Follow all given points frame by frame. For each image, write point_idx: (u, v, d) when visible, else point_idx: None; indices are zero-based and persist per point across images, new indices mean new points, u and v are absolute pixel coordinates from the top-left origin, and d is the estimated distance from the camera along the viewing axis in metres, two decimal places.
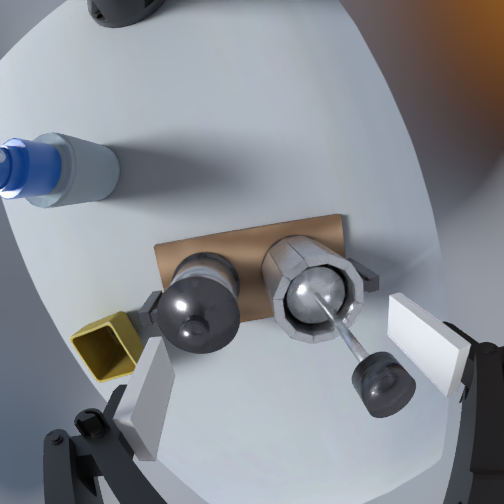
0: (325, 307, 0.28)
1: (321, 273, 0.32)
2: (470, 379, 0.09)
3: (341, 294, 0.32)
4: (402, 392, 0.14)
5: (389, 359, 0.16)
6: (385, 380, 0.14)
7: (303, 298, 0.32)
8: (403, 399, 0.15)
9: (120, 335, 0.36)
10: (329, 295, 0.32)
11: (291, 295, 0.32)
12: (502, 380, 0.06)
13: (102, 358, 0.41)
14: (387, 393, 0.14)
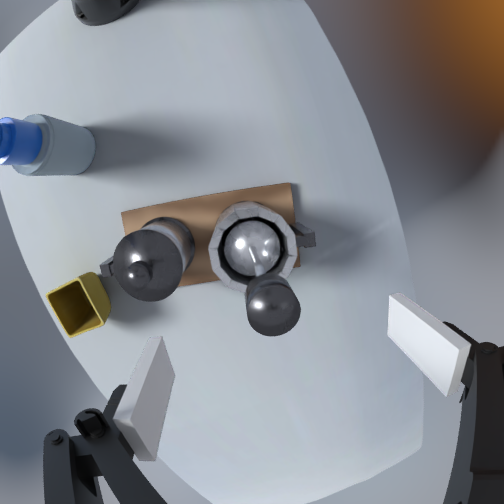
0: (252, 254, 0.32)
1: (255, 226, 0.35)
2: (470, 379, 0.09)
3: (277, 248, 0.36)
4: (284, 308, 0.18)
5: (275, 278, 0.20)
6: (260, 290, 0.18)
7: (239, 250, 0.36)
8: (288, 318, 0.18)
9: (87, 290, 0.40)
10: (264, 248, 0.36)
11: (228, 247, 0.35)
12: (502, 380, 0.06)
13: (75, 316, 0.44)
14: (265, 305, 0.18)
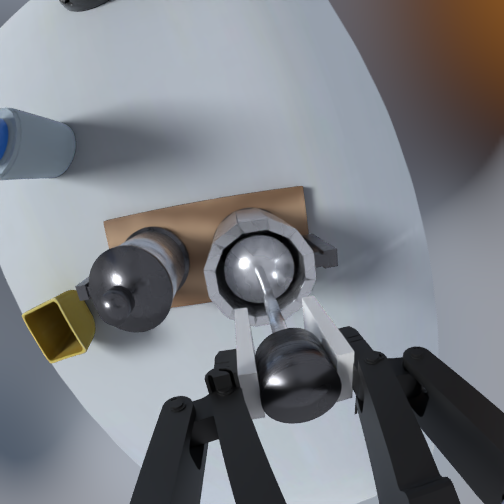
0: (261, 280, 0.24)
1: (263, 242, 0.28)
2: (360, 391, 0.10)
3: (290, 269, 0.29)
4: (319, 389, 0.11)
5: (302, 338, 0.12)
6: (282, 366, 0.11)
7: (243, 272, 0.28)
8: (323, 400, 0.11)
9: (66, 312, 0.33)
10: (274, 269, 0.28)
11: (229, 268, 0.28)
12: (400, 387, 0.08)
13: (56, 339, 0.37)
14: (290, 387, 0.11)
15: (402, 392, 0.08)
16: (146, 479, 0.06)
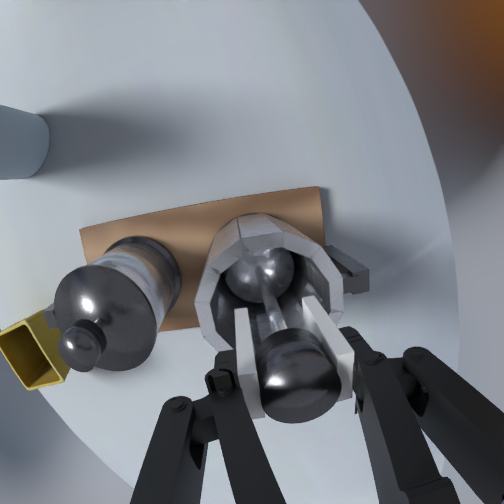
0: (261, 280, 0.24)
1: None
2: (360, 391, 0.10)
3: (290, 268, 0.29)
4: (318, 389, 0.11)
5: (302, 339, 0.12)
6: (282, 366, 0.11)
7: (243, 272, 0.28)
8: (323, 401, 0.11)
9: (38, 337, 0.25)
10: (274, 269, 0.28)
11: (229, 268, 0.28)
12: (400, 388, 0.08)
13: (34, 362, 0.30)
14: (289, 387, 0.11)
15: (402, 392, 0.08)
16: (146, 479, 0.06)
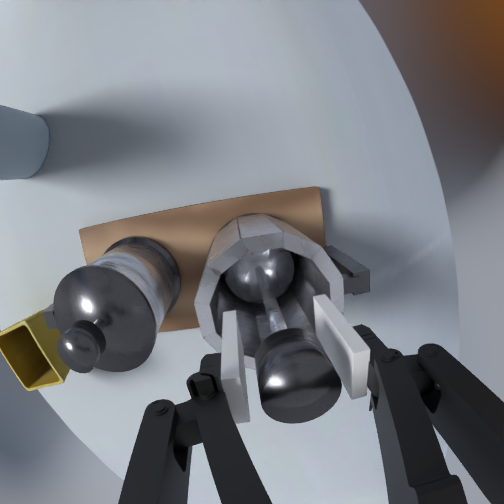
0: (261, 280, 0.24)
1: None
2: (376, 388, 0.10)
3: (290, 269, 0.29)
4: (318, 389, 0.11)
5: (302, 338, 0.12)
6: (282, 366, 0.11)
7: (243, 272, 0.28)
8: (323, 401, 0.11)
9: (38, 338, 0.25)
10: (274, 269, 0.28)
11: (229, 268, 0.28)
12: (414, 385, 0.08)
13: (34, 362, 0.30)
14: (289, 387, 0.11)
15: (416, 390, 0.08)
16: (132, 482, 0.06)
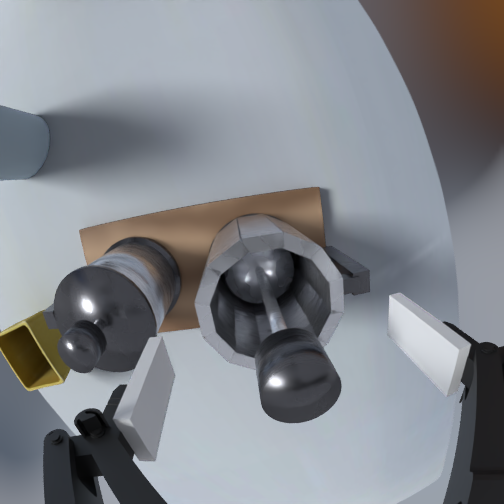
0: (261, 280, 0.24)
1: None
2: (470, 379, 0.09)
3: (290, 269, 0.29)
4: (318, 389, 0.11)
5: (302, 338, 0.12)
6: (282, 366, 0.11)
7: (243, 273, 0.28)
8: (323, 400, 0.11)
9: (38, 338, 0.25)
10: (274, 269, 0.28)
11: (229, 268, 0.28)
12: (502, 380, 0.06)
13: (34, 362, 0.30)
14: (289, 387, 0.11)
15: (502, 384, 0.06)
16: None
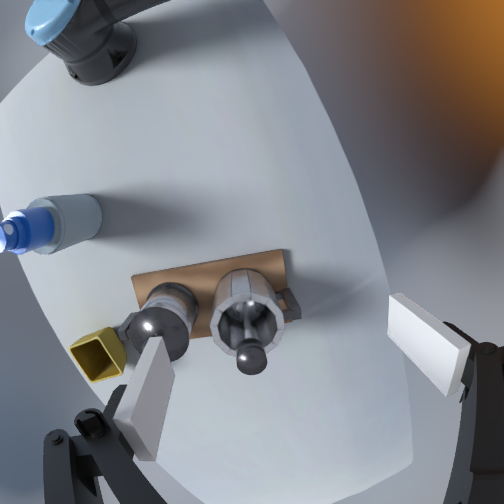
0: (244, 311, 0.45)
1: None
2: (470, 379, 0.09)
3: None
4: (257, 360, 0.31)
5: (253, 342, 0.33)
6: (243, 351, 0.31)
7: (235, 305, 0.49)
8: (260, 365, 0.31)
9: (106, 346, 0.46)
10: (253, 303, 0.49)
11: None
12: (502, 380, 0.06)
13: (94, 363, 0.50)
14: (246, 359, 0.31)
15: (502, 384, 0.06)
16: None
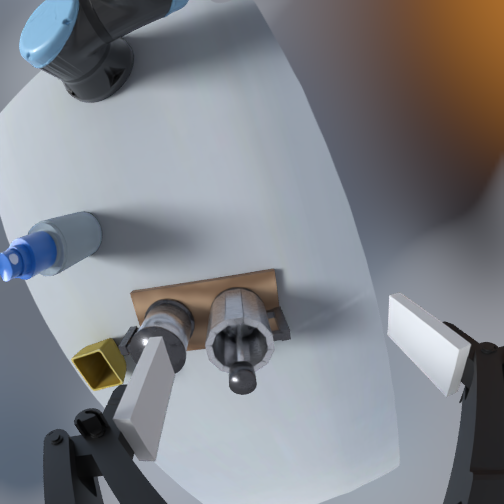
0: (237, 330, 0.47)
1: None
2: (470, 379, 0.09)
3: None
4: (248, 382, 0.33)
5: (244, 365, 0.35)
6: (235, 374, 0.33)
7: None
8: (250, 387, 0.34)
9: (108, 358, 0.48)
10: None
11: None
12: (502, 380, 0.06)
13: (96, 372, 0.53)
14: (238, 381, 0.33)
15: (502, 384, 0.06)
16: None
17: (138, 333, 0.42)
